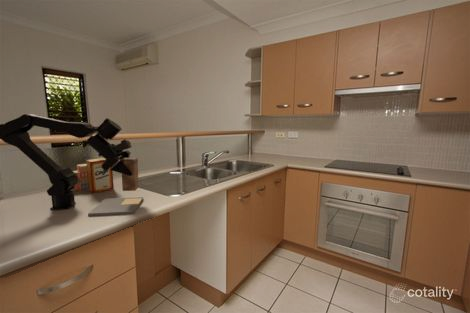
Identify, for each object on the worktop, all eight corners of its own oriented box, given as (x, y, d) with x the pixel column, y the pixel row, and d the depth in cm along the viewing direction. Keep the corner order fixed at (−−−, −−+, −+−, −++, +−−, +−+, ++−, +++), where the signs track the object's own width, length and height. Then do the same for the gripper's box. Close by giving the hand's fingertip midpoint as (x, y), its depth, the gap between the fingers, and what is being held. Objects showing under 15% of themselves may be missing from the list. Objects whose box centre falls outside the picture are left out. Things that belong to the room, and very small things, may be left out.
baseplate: (88, 216, 83) (87, 213, 83) (105, 200, 99) (105, 198, 99) (133, 213, 86) (133, 211, 86) (143, 199, 102) (143, 197, 102)
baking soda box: (92, 193, 109) (90, 161, 106) (88, 190, 113) (86, 159, 110) (113, 189, 115) (111, 158, 113) (109, 186, 120) (107, 157, 117)
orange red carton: (59, 194, 107) (56, 168, 105) (57, 190, 112) (54, 166, 110) (108, 185, 122) (106, 163, 120) (104, 183, 127) (103, 161, 125)
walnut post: (122, 190, 92) (121, 159, 90) (126, 187, 97) (125, 157, 95) (135, 190, 93) (134, 159, 91) (138, 187, 98) (137, 157, 96)
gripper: (108, 135, 82) (141, 164, 85) (124, 132, 100) (151, 156, 103) (86, 156, 82) (120, 185, 85) (107, 149, 100) (134, 173, 103)
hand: (133, 173), depth 94 cm, fingers closed on walnut post, 5 cm apart
